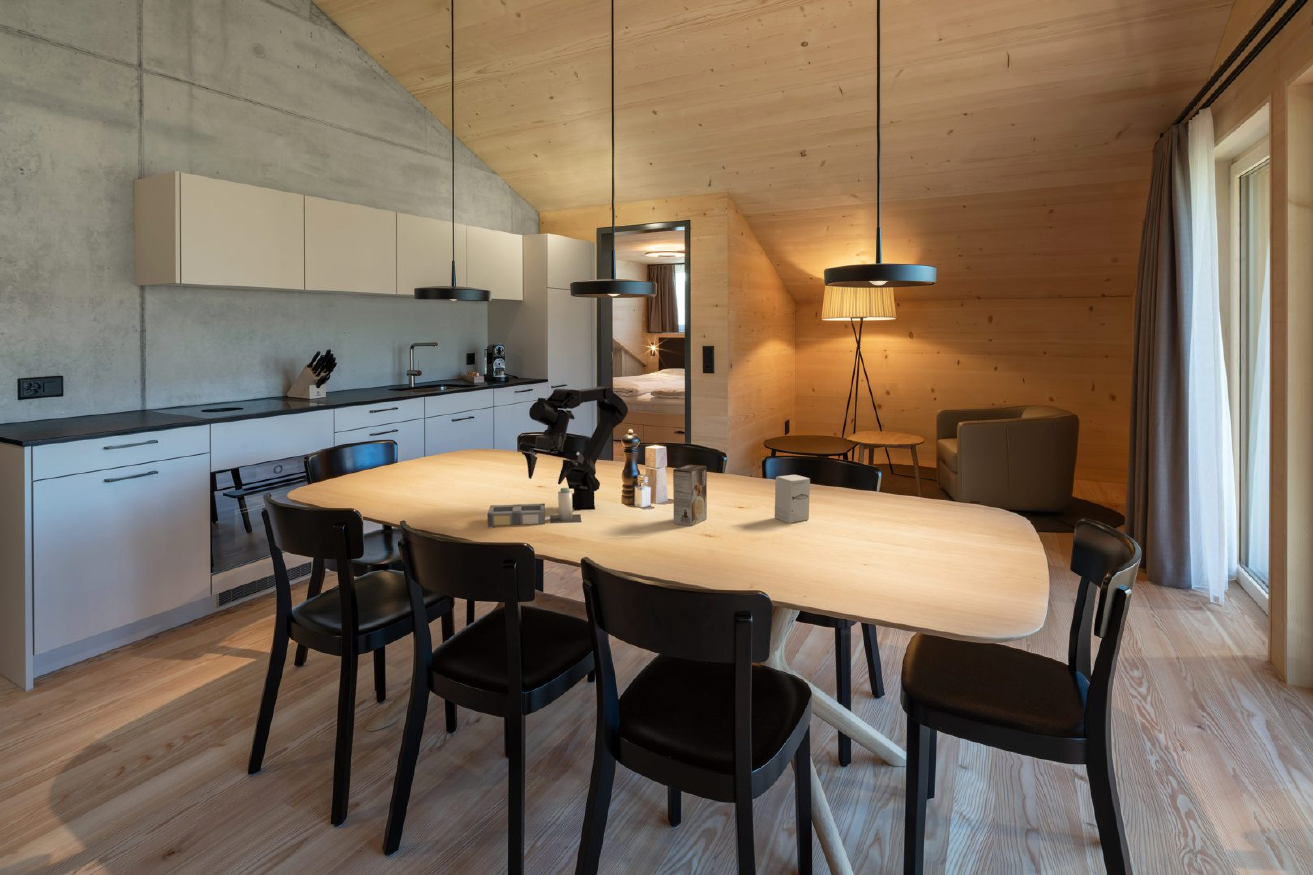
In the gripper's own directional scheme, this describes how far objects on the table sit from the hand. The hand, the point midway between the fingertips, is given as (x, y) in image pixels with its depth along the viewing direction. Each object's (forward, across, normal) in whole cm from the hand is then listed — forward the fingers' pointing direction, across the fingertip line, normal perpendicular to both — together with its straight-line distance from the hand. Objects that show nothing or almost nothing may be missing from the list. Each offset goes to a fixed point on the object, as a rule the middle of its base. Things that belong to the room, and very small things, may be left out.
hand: (544, 481), depth 214 cm
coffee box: (+2, +42, +12) cm, 44 cm away
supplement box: (-5, +70, +21) cm, 73 cm away
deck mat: (+9, +7, +7) cm, 13 cm away
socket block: (+13, -6, +2) cm, 14 cm away
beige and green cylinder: (+9, +7, +7) cm, 13 cm away
